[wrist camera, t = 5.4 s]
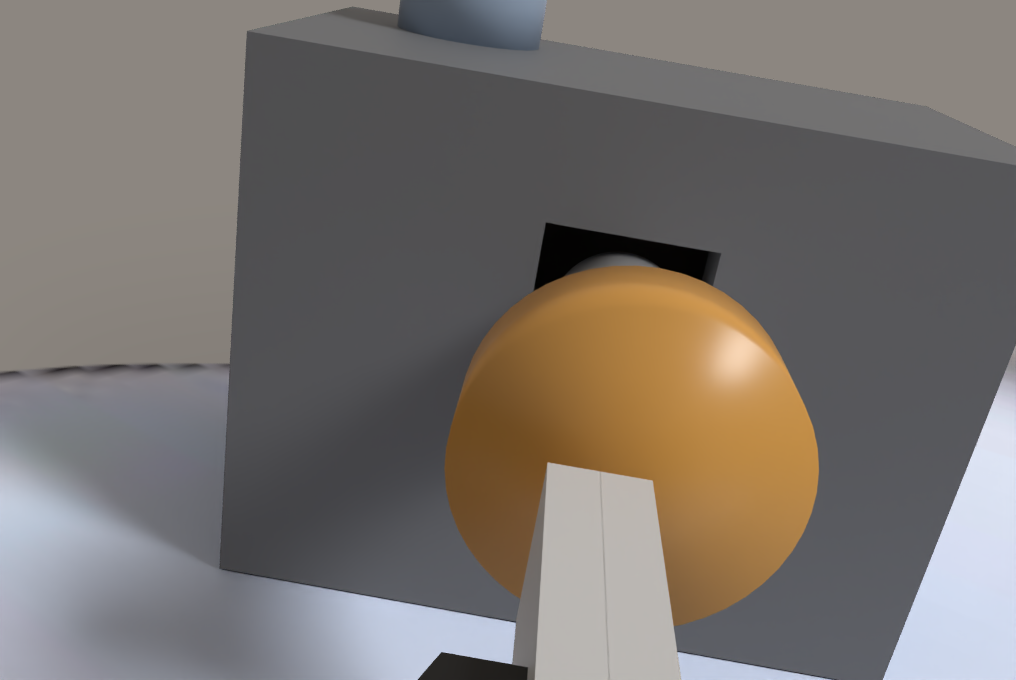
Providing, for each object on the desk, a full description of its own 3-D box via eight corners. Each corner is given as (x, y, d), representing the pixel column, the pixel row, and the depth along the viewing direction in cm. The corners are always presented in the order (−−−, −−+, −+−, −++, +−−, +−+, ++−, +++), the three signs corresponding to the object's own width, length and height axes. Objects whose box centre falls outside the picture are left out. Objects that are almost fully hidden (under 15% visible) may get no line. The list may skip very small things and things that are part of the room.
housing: (801, 491, 35) (926, 106, 29) (879, 687, 26) (1082, 176, 20) (316, 405, 35) (352, 6, 30) (219, 568, 26) (246, 30, 20)
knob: (709, 444, 24) (773, 212, 21) (763, 658, 17) (867, 343, 14) (472, 402, 24) (510, 166, 22) (423, 597, 17) (472, 274, 14)
